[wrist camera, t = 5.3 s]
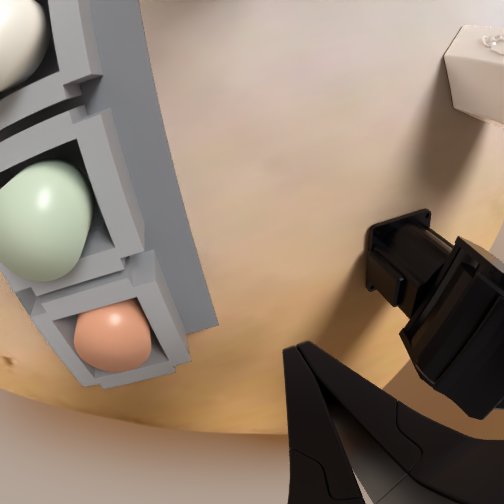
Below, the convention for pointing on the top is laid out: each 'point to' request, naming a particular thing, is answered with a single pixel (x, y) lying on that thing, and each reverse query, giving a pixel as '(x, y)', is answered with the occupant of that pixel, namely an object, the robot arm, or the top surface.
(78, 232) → the sage button
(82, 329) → the terracotta button
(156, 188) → the button panel
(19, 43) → the cream button
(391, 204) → the top surface
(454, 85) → the jar
